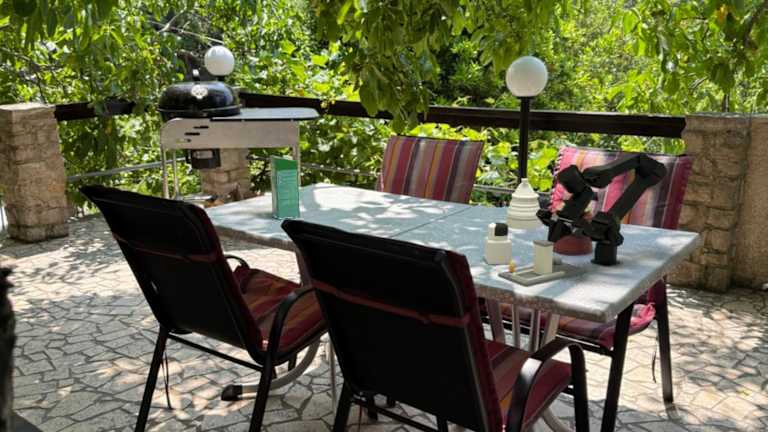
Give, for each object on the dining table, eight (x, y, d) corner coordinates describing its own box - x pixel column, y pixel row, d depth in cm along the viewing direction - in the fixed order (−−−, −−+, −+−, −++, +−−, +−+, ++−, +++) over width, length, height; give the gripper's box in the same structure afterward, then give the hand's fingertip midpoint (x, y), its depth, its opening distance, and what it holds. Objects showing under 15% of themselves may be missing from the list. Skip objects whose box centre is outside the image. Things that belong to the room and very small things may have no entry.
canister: (562, 243, 248) (564, 192, 244) (598, 249, 240) (601, 196, 236) (544, 251, 238) (546, 198, 235) (581, 258, 230) (584, 203, 227)
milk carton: (300, 218, 292) (297, 155, 287) (277, 220, 289) (274, 157, 284) (294, 213, 301) (291, 153, 295) (272, 215, 297) (269, 154, 292)
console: (558, 262, 226) (558, 250, 225) (587, 272, 216) (588, 259, 215) (498, 276, 213) (498, 263, 212) (526, 286, 203) (526, 273, 202)
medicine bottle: (506, 257, 232) (507, 220, 229) (511, 264, 225) (512, 226, 222) (484, 258, 232) (484, 221, 229) (488, 264, 225) (488, 226, 222)
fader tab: (541, 270, 214) (542, 239, 212) (552, 274, 210) (554, 242, 208) (532, 272, 213) (533, 241, 210) (544, 276, 209) (545, 244, 207)
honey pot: (541, 230, 267) (543, 181, 263) (505, 229, 269) (506, 180, 265) (541, 222, 279) (542, 175, 275) (507, 221, 281) (508, 174, 278)
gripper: (615, 225, 210) (585, 269, 207) (567, 214, 226) (539, 254, 223) (597, 202, 205) (566, 246, 201) (549, 192, 220) (520, 233, 217)
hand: (548, 245), depth 211 cm, fingers closed, pressing on fader tab
